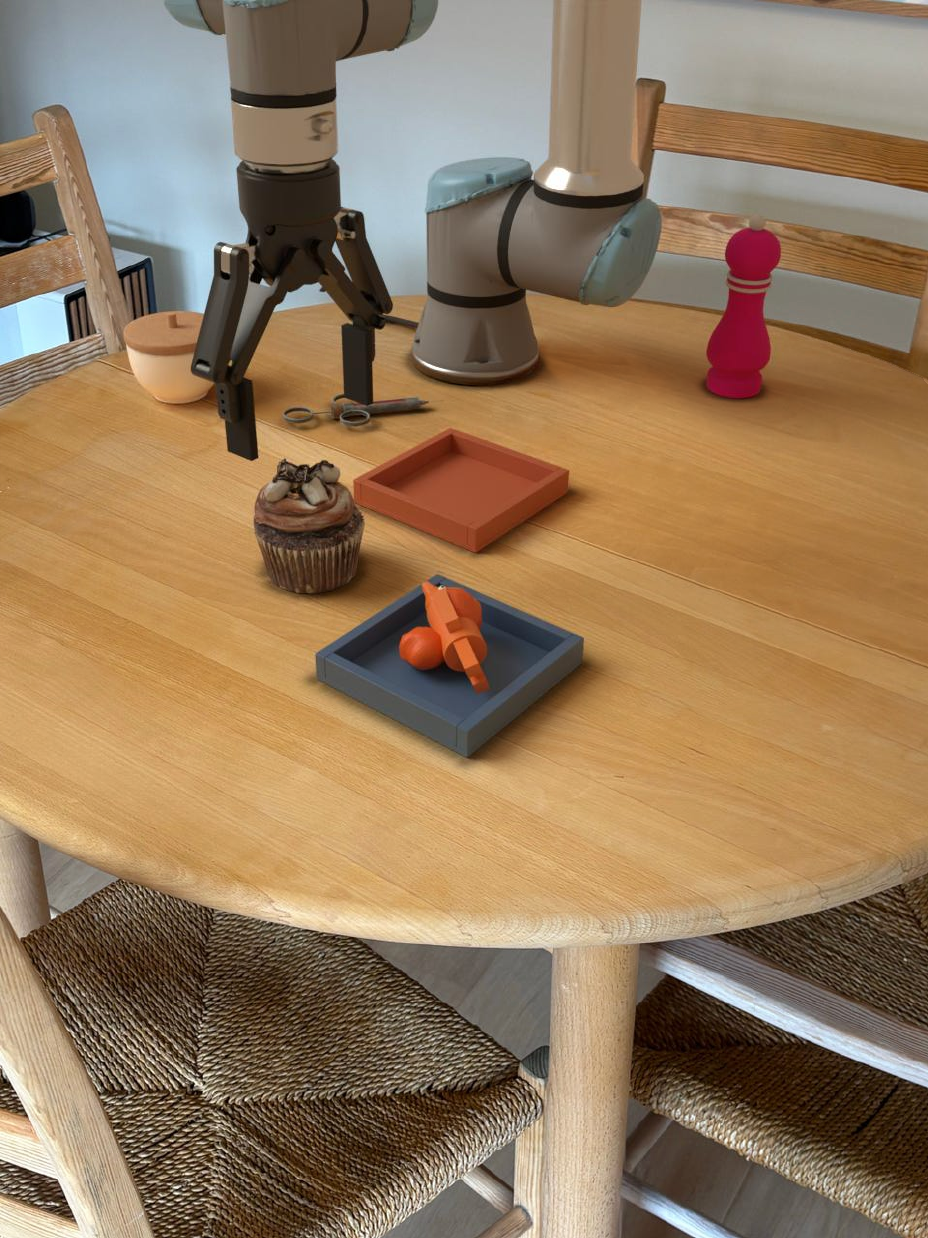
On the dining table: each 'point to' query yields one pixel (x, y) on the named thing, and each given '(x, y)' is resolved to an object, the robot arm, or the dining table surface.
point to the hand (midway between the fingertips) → (303, 426)
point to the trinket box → (166, 355)
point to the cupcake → (308, 528)
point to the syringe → (359, 409)
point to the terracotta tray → (461, 488)
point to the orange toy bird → (448, 635)
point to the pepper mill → (744, 314)
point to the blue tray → (450, 670)
